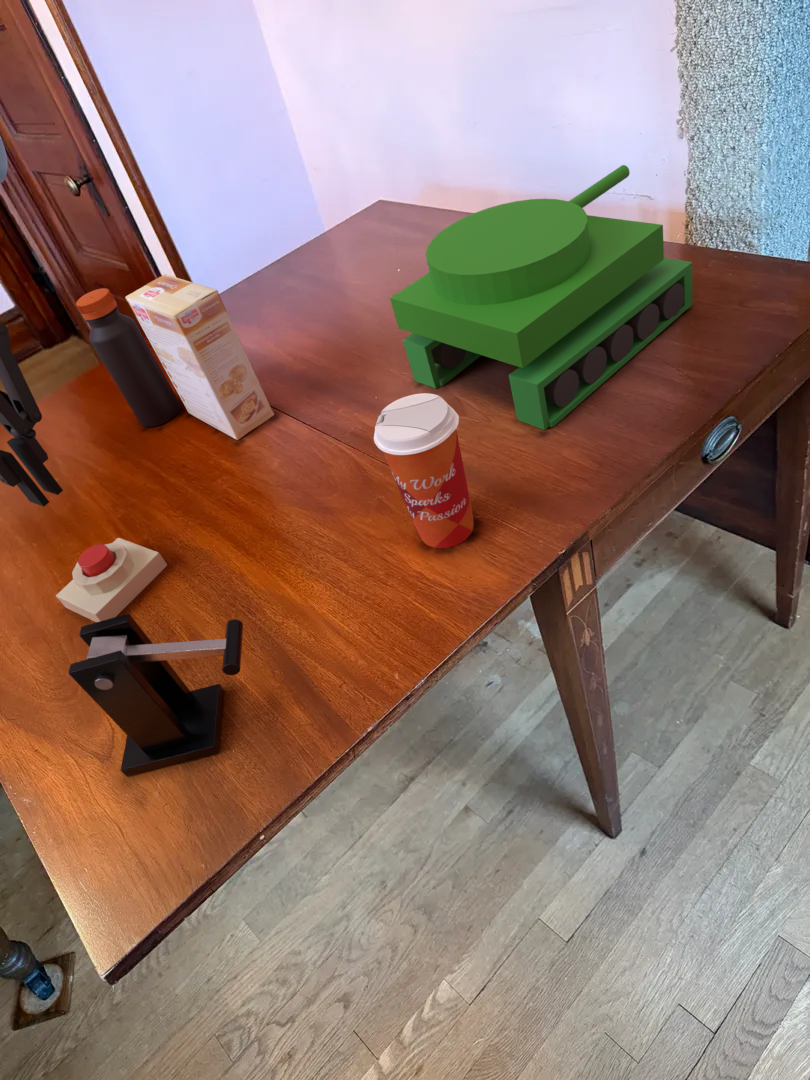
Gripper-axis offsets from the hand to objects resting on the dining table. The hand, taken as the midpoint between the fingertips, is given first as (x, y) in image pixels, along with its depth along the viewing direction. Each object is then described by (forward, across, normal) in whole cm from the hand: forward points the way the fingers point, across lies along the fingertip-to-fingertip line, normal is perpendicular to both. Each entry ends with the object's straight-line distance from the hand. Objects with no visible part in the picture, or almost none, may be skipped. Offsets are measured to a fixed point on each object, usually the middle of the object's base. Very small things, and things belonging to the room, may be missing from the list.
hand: (46, 495), depth 79 cm
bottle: (+15, +29, +24) cm, 40 cm away
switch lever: (+5, -8, -26) cm, 28 cm away
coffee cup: (+15, +21, -34) cm, 43 cm away
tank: (+15, +59, -30) cm, 68 cm away
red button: (+11, 0, 0) cm, 11 cm away
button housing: (+14, 0, 0) cm, 14 cm away
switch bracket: (+14, -11, -23) cm, 29 cm away
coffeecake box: (+15, +32, +11) cm, 37 cm away
